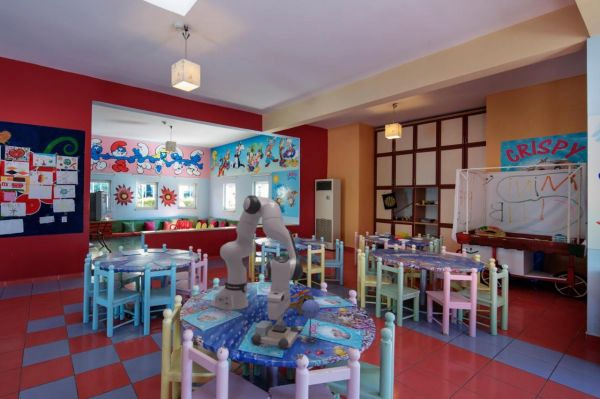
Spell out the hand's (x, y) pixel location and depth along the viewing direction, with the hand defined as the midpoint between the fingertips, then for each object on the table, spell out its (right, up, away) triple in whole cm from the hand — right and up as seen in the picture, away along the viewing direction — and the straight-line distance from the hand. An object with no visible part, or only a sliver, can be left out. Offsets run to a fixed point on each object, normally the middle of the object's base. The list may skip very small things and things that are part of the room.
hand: (279, 322), depth 144 cm
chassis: (-2, -8, +1) cm, 8 cm away
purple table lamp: (+14, -9, +2) cm, 16 cm away
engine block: (0, -6, 0) cm, 6 cm away
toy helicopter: (+9, -8, +32) cm, 34 cm away
